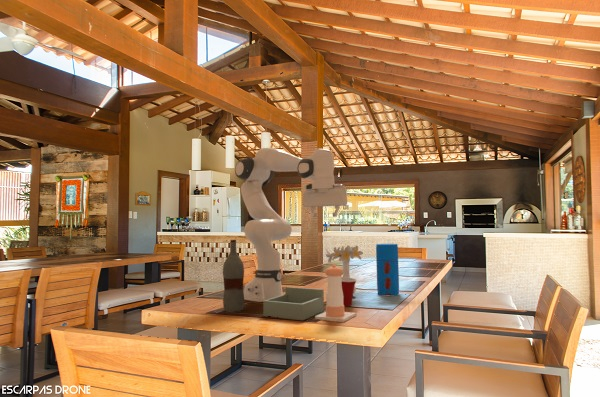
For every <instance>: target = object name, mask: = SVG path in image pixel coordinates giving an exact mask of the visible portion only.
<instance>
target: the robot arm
mask: <svg viewBox="0 0 600 397" xmlns="http://www.w3.org/2000/svg"><path fill="white" fill-rule="evenodd" d="M334 159H335V158H334V154H333V151H331V150H329V149H325V148H317V149H314V151H313V152H312V153H311V155H309V156H307V157H305V158H302V157H298V156H296V155H294V154H291V153H288V152H286V151H284V150H282V149H278V148H276V147H275V148H274V147H262V148H259V150H257V151H256V153H255V156H254V157H253V158H252V157H251V156H247V157H246V158H242V159H239V161H237V163H236V164H235V167H234V173H235V176H236V177H237V178H238V179H240V180H244V182H243V183H242V184H241V186H240V192H241V197H242V201H243V202H244V205H245V207H246V209H247V212H248V214H249V216H250V217H251V218H253V219H252V220H251V219H250V220H248V221H247V222H246V224H245V226H244V231H243V233H244V236H245V237H246V239H247V240H248V241H249V242H251V243H252V245H253V247H254V249H255V252H256V258H257V269H256V270H254V271H253V273H252V274H253V275H254V277H253V278H252V279H251V280H250V281H249V282H247V283H246V284H245V285H244V286H243V293H244V300H245V301H252V302H257V303H261V302H263V301H264V300H268V299H271V298H274V297H278V296H281V295H284V291H283V289H282V286H283V285H282V269H281V255H280V254H281V253H280V252H279V251H278V250H277V249H275V248H274V246H273V245H272V242H273V241H277V242H278V241H282V240H285V239H288V238H289V237H290V236H291V234H292V225H291V222H290V221H289V220H287V219H285V218H284V217H282V216H281V215H279V214H278V213H277V212H276V211H275V210H274V209H273V208H272V206H271V205H270V203H269V201H268V200H267V197H266V195H265V193H264V191H263V189H262V187H266V186H267V185H268V184H269V183H270V182H271V181H272V180H273V178H274V177H275V172H276V173H280V172H283V173H284V172H286V173H287V172H297V175H298V176H299V177H300V179H304V180H309V181H312V182H309V183H307V184H304V186H303V188H304V191H303V195H302V205H303V206H304V208H310V211H311V213H312V218H318V217H319V213H318V212H316V208H319V207H320V208H322V207H334V209H335V210H334V211H333V212H332V218H337V217H338V212H339V211H340V207H345V206H347V204H348V195H347V193H348V192H347V189H348V188H347V186H346V185H344V183H343V184H342V183H341V184H335V176H334V171H335V160H334Z"/></svg>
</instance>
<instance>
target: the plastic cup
mask: <svg viewBox="0 0 600 397" xmlns="http://www.w3.org/2000/svg"><path fill="white" fill-rule="evenodd" d="M341 280H342V291H343V305H344V308H346V307H351V306H352V303H353V297H354V294H353V291H354V286H355V287H356V282H357V281H358V280H357V279H356V278H352V277H350V278H346V277H343V276H341Z"/></svg>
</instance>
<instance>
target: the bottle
mask: <svg viewBox="0 0 600 397" xmlns="http://www.w3.org/2000/svg"><path fill="white" fill-rule="evenodd" d="M229 242H230V244H229V245H230V248H229V250H230V251H229V253H228V255H227V258H226V259H225V260H224V263H223V266H222V276H223V288H224V289H223V290H224V291H223V298H222V304H223V306H222V307H223V310H224V312H225V311H230V312H229V313H235V312H234V311H239V312H242V311H241V310H243V311H244V309H245V301H246V300H244V279H245V278H244V277H245V265H244V262H243V260H242V259H241V258H240V255H238V253H237V239H230V241H229Z"/></svg>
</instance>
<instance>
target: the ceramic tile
mask: <svg viewBox="0 0 600 397" xmlns="http://www.w3.org/2000/svg"><path fill="white" fill-rule="evenodd" d="M356 316H357V312H349V311H345V315H343V316H337V317H333V316H327V315H326V311H324V312H321V313H319V314H317V315H314V320H321V321H322V320H323V321H331V322H340V323H345V322H346V321H348V320H351V319H352V318H354V317H356Z"/></svg>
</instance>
